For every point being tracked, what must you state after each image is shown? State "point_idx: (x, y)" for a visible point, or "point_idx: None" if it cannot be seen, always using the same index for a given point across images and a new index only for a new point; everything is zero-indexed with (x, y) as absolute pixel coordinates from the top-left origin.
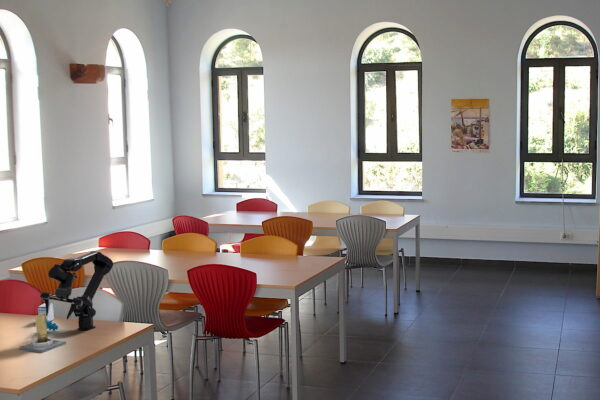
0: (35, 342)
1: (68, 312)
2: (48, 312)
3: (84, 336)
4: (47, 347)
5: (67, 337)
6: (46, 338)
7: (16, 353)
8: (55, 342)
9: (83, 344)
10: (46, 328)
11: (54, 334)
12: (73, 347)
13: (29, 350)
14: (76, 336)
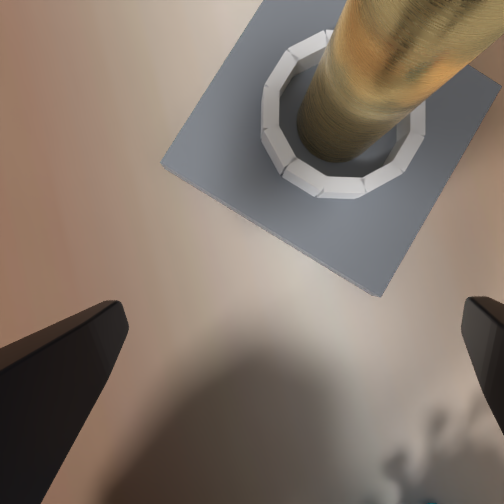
0: (403, 128)
1: (26, 358)
2: (491, 409)
3: None
4: (270, 13)
5: (202, 360)
6: (311, 80)
7: None
8: (242, 143)
9: (14, 116)
10: (335, 34)
11: (340, 480)
12: (79, 52)
13: None
14: (130, 375)
